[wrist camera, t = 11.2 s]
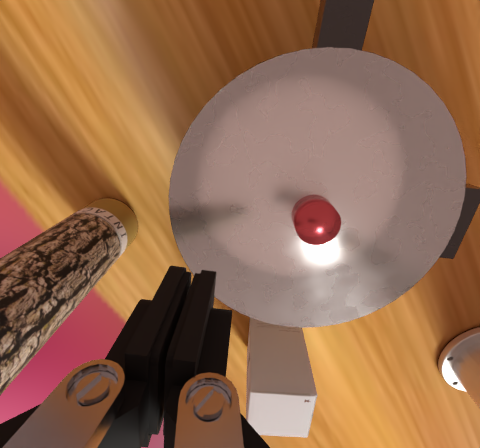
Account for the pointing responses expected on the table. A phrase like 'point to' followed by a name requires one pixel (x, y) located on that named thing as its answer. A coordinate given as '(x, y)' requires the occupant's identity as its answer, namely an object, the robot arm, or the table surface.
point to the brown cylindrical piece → (56, 277)
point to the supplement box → (279, 381)
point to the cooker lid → (318, 186)
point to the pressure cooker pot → (352, 36)
